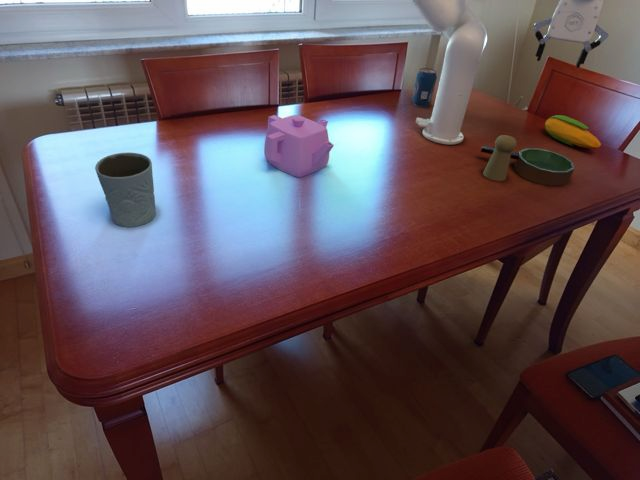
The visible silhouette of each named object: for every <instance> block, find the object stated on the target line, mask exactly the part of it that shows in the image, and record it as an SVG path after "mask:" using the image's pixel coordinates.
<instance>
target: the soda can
mask: <svg viewBox="0 0 640 480" xmlns="http://www.w3.org/2000/svg"><path fill="white" fill-rule="evenodd" d="M437 78H438V76H437V71H436V70H435V69H432V68H427V67H423V68H420V69H419V70H418V72H417V73H416V77H415V83H414V88H413V92H412V98H411V101H412V105H414V106H416V107H419V108H427V107H428V106H430V104H431V103H432V100H433V96H434V91H435V87H436V82H437Z"/></svg>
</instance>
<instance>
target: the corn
mask: <svg viewBox="0 0 640 480" xmlns="http://www.w3.org/2000/svg"><path fill="white" fill-rule="evenodd" d="M544 129H545V131H546V132H547V133H548V135H550V136H551V137H552V138H553V139H556V140H558V141H559V142H561V143H563V144H565V145H567V146H570V147H574V146H577V147H580V148H585V149H592V150H596V149H599V148H600V147H601V145H602V144H601V142H600V140H599V139H598V138H597V137H596V136H595V135H593V133H591V132H590V131H588V129H589V127H588V126H587V125H586V124H584V123H583V122H581V121H579V120H577V119H574V118H571V117H570V116H566V115H559V114H558V115H553V116H549V117H548V118H547V119H546V121H545V123H544Z"/></svg>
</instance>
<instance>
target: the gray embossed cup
mask: <svg viewBox="0 0 640 480" xmlns="http://www.w3.org/2000/svg"><path fill="white" fill-rule="evenodd" d="M94 167H95V168H94V169H95V173H96V176H97V178H98V181H99V184H100V186H101V189H102V191H103V194H104V196H105V201H106V203H107V206H108V209H109V214H110V218H111V220H112V221H113V223H114V224H115V225H117V226H120V227H124V228H137V227H140V226H144V225H147V224H148V223H149V224H150V222H152V221H153V220H154V219H155V217H156V215H157V210H156V209H157V208H156V198H155V187H154V186H155V185H154V177H153V174H154V173H153V162H152V160H151V158H150V157H148V156H147V155H145V154H142V153H139V152H119V153H114V154H110V155H107V156H105V157H102V158H101V159H99V160H98V161H97V163H96V164H95V166H94Z"/></svg>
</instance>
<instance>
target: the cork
mask: <svg viewBox="0 0 640 480" xmlns="http://www.w3.org/2000/svg"><path fill="white" fill-rule="evenodd" d="M517 144H518V143H517V139H516V138H515V137H513V136H510V135H505V134H503V135H502V134H501V135H499V136H498V137H497V138H496V139H495V140H494V148H495V150H494V152H493V154H491V156H490V158H489V160H488V161H487V164H486V166H485V168H484V170H483V172H482V175H483V177H485V178H487V179H488V180H491V181H495V182H503V181H506V179H507V176H508V172H509V171H508V170H509V167H510V161H511V158H510V157H511V152H514V151H515V149H516V147H517Z"/></svg>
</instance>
